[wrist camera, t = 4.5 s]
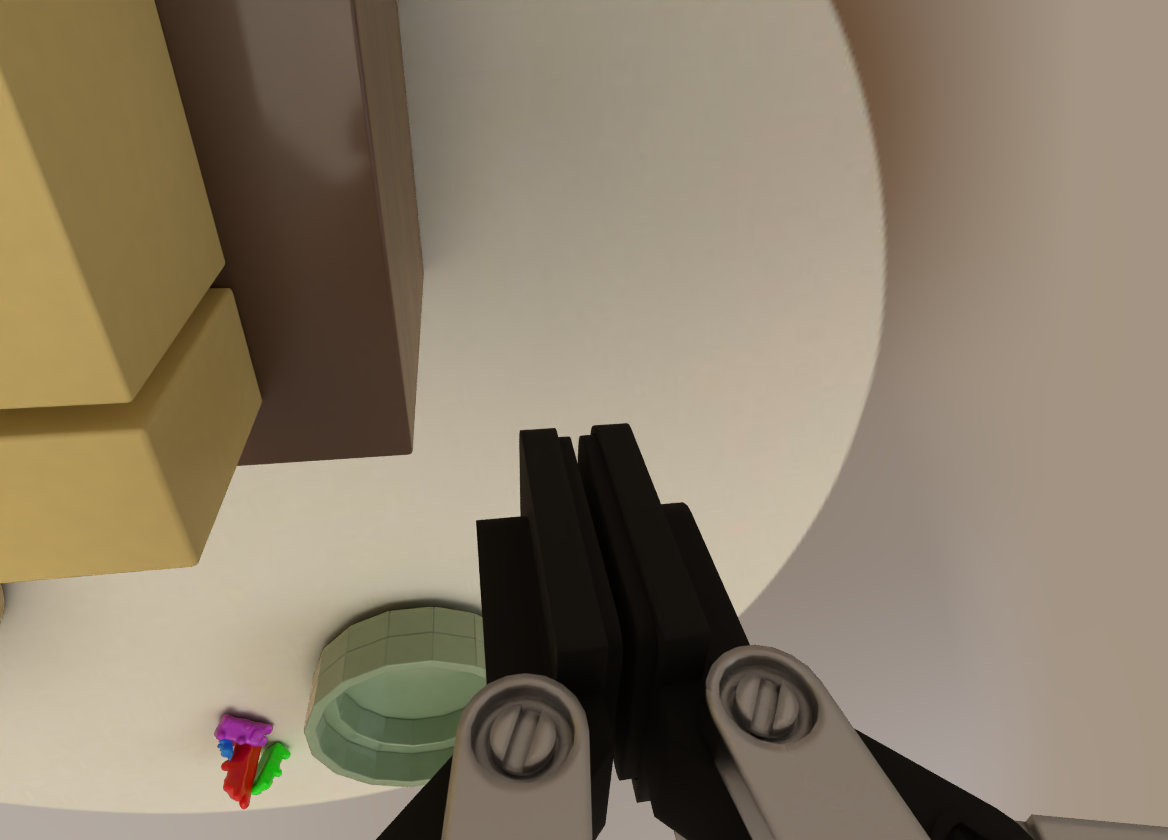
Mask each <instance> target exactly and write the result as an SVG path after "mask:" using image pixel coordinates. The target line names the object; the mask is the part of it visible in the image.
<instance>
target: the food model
mask: <svg viewBox="0 0 1168 840" xmlns="http://www.w3.org/2000/svg"><path fill="white" fill-rule="evenodd" d="M4 605H5V602H4V596H3V590H2V585H1V583H0V624H1V620H2V617H3V612H4Z"/></svg>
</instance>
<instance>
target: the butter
mask: <svg viewBox="0 0 1168 840" xmlns="http://www.w3.org/2000/svg"><path fill="white" fill-rule="evenodd" d="M224 265H225V260H224V256H223V252H222V249H221V245H220V241H219V238H218V234H217V230H216V226H215V223H214V219H213V215H212V212H211V208H210V204H209V201H208V197H207V193H206V189H205V186H204V182H203V178H202V175H201V171H200V167H199V164H198V160H197V156H196V153H195V149H194V145H193V141H192V138H191V134H190V130H189V127H188V123H187V119H186V116H185V112H184V108H183V104H182V101H181V97H180V93H179V90H178V86H177V82H176V79H175V75H174V71H173V67H172V64H171V60H170V56H169V53H168V49H167V45H166V42H165V38H164V34H163V31H162V27H161V23H160V19H159V16H158V12H157V8H156V5H155V1H154V0H0V409H15V408H35V407H54V406H74V405H93V404H113V403H128V402H131V401H133V399H134V398H135V396H136V395H137V394H138V392H139V391H140V389H141V388H142V386H143V385H144V383H145V382H146V380H147V379H148V377H149V376H150V374H151V373H152V371H153V370H154V368H155V367H156V366H157V364H158V363H159V361H160V360H161V358H162V357H163V355H164V354H165V352H166V351H167V349H168V348H169V346H170V345H171V343H172V342H173V341H174V339H175V338H176V336H177V335H178V333H179V332H180V330H181V329H182V327H183V326H184V324H185V323H186V321H187V320H188V318H189V317H190V315H191V314H192V313H193V311H194V310H195V308H196V307H197V305H198V304H199V302H200V301H201V299H202V298H203V296H204V295H205V293H206V292H207V290H208V289H209V287H210V286H211V285H212V283H213V282H214V280H215V279H216V277H217V276H218V274H219V273H220V271H221V270H222V268H223V267H224Z"/></svg>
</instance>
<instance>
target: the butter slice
mask: <svg viewBox="0 0 1168 840" xmlns="http://www.w3.org/2000/svg"><path fill="white" fill-rule="evenodd" d="M261 403H262V398H261V395H260V391H259V387H258V384H257V380H256V376H255V373H254V369H253V365H252V361H251V358H250V354H249V350H248V347H247V343H246V339H245V336H244V332H243V328H242V325H241V321H240V317H239V314H238V310H237V306H236V302H235V299H234V295H233V292H232V290H231V289H229V288H209V289H208V290H207V292H206V293H205V295H204V296H203V298H202V299H201V301H200V302H199V304H198V305H197V307H196V308H195V310H194V311H193V313H192V314H191V315H190V317H189V318H188V320H187V321H186V323H185V324H184V326H183V327H182V329H181V330H180V332H179V333H178V335H177V336H176V338H175V339H174V341H173V342H172V343H171V345H170V346H169V348H168V349H167V351H166V352H165V354H164V355H163V357H162V358H161V360H160V361H159V363H158V364H157V366H156V367H155V368H154V370H153V371H152V373H151V374H150V376H149V377H148V379H147V380H146V382H145V383H144V385H143V386H142V388H141V389H140V391H139V392H138V394H137V395H136V396H135V398H134V399H133V401H131V402H128V403H113V404H93V405H74V406H54V407H35V408H15V409H0V583H10V582H22V581H33V580H45V579H56V578H67V577H79V576H90V575H102V574H113V573H125V572H136V571H148V570H159V569H171V568H182V567H192V566H195V565H197V564H198V562H199V560H200V557H201V555H202V552H203V549H204V547H205V544H206V542H207V539H208V537H209V534H210V532H211V529H212V527H213V524H214V522H215V519H216V517H217V514H218V512H219V509H220V507H221V504H222V502H223V499H224V497H225V494H226V492H227V489H228V486H229V484H230V481H231V479H232V476H233V474H234V471H235V469H236V466H237V464H238V461H239V459H240V456H241V454H242V451H243V449H244V446H245V444H246V441H247V439H248V436H249V434H250V431H251V429H252V426H253V423H254V421H255V418H256V416H257V413H258V411H259V408H260V406H261Z"/></svg>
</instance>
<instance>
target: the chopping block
mask: <svg viewBox="0 0 1168 840" xmlns="http://www.w3.org/2000/svg"><path fill="white" fill-rule="evenodd" d="M154 1H155V5H156V8H157V12H158V16H159V19H160V23H161V27H162V31H163V34H164V38H165V42H166V45H167V49H168V53H169V56H170V60H171V64H172V67H173V71H174V75H175V79H176V82H177V86H178V90H179V93H180V97H181V101H182V104H183V108H184V112H185V116H186V119H187V123H188V127H189V130H190V134H191V138H192V141H193V145H194V149H195V153H196V156H197V160H198V164H199V167H200V171H201V175H202V178H203V182H204V186H205V189H206V193H207V197H208V201H209V204H210V208H211V212H212V215H213V219H214V223H215V226H216V230H217V234H218V238H219V241H220V245H221V249H222V252H223V256H224V260H225V265H224V267H223V268H222V270H221V271H220V273H219V274H218V276H217V277H216V279H215V280H214V282H213V283H212V285H211V286H210V287H209V288H229V289H231V290H232V292H233V295H234V299H235V302H236V306H237V310H238V314H239V317H240V321H241V325H242V328H243V332H244V336H245V339H246V343H247V347H248V350H249V354H250V358H251V361H252V365H253V369H254V373H255V376H256V380H257V384H258V387H259V391H260V395H261V398H262V403H261V406H260V408H259V411H258V413H257V416H256V418H255V421H254V423H253V426H252V429H251V431H250V434H249V436H248V439H247V441H246V444H245V446H244V449H243V451H242V454H241V456H240V459H239V461H238V464H237V466H242V465H258V464H273V463H288V462H303V461H318V460H333V459H348V458H363V457H378V456H393V455H408V454H411V453H412V451H413V436H414V420H415V404H416V389H417V373H418V358H419V342H420V326H421V311H422V295H423V280H424V271H423V261H422V251H421V240H420V230H419V220H418V210H417V200H416V189H415V179H414V169H413V159H412V148H411V138H410V128H409V118H408V107H407V97H406V87H405V77H404V67H403V56H402V46H401V36H400V26H399V15H398V5H397V0H154Z"/></svg>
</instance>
